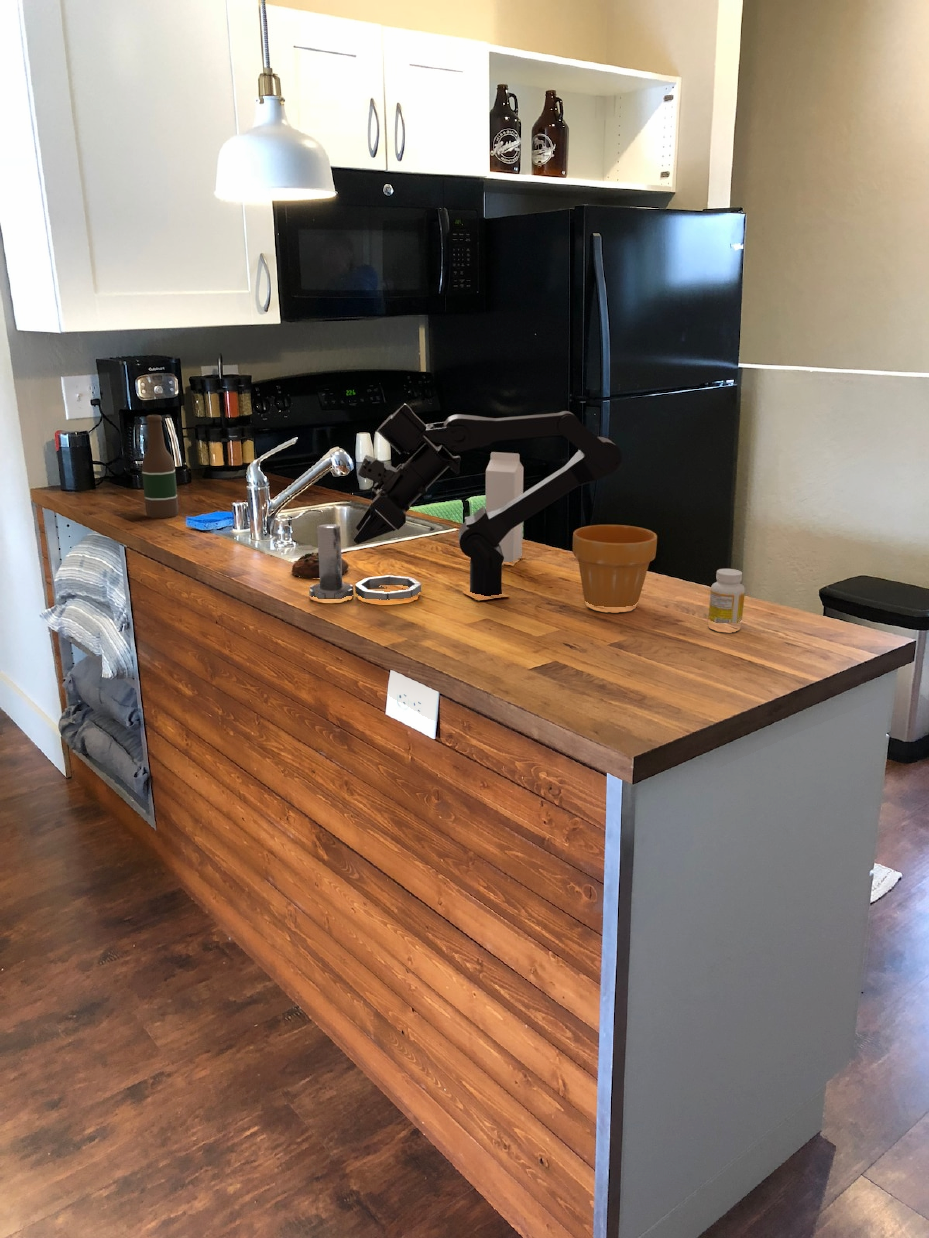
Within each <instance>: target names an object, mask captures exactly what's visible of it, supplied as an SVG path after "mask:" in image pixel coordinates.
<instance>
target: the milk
mask: <svg viewBox="0 0 929 1238" xmlns="http://www.w3.org/2000/svg"><path fill="white" fill-rule="evenodd" d="M520 457H521V456H520V454H519V453H518V452H517V453H514V452H497V451H491V453H490V460H489V462H488V465H487V467H486V469H485V509H486V512H491V511H494V510H497V509H500V508H501V507H503V506H504V505H506V504H507V503H509V502H510V501H512V500H513V499H515V498H517V497H518V496H520V495H521V494H523V493H524V466H523V464H522V463H521V461H520ZM499 545H500V546H501V549H502V553H503V556H504V560H503V562H514V561H516V560H517V559H518V558H520V557H521V556H523V555H522V554H523V551H522V550H523V549H522V548H523V522H522V523H520V524H519V525H517V526H516V527H514V528H513V529H511V530H510V531H509V532H508V533H507V535H506V536H505V537H504V538H503V539H502V541H501V542H500V543H499Z"/></svg>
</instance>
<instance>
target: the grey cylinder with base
mask: <svg viewBox="0 0 929 1238" xmlns="http://www.w3.org/2000/svg"><path fill="white" fill-rule="evenodd" d="M316 528H317V529H316V530H317V531H316V532H317V550H318V551H317V553H318V555H319V577H320V579H319V583H316V584H312V585H310V587H309V588H310V589H308V592H309V593H308V594H309V595H308V597H309V596H311V597H313V596H314V597H317V598H318V599H342V598H344V597H346V596H352V595H354V585H353V584H349V583H346V582H344V581H343V575H342V558H343V557H342V537H341V536H342V535H341V533H342V532H341V525H339V524H333V523H332V524H331V523H329V524H320V525H317V527H316Z"/></svg>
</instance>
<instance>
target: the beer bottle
mask: <svg viewBox="0 0 929 1238" xmlns="http://www.w3.org/2000/svg"><path fill="white" fill-rule="evenodd" d="M162 421H163V417H162V415H159V414H149V415H147V416H146V419H145V422H146V423H147V450H146V452H145V455H144V456H143V458H142V462H141V475H142V485H143V497H144V504H145V505H144V506H145V514H146V516H147V517H148V518H152V519H170V518H173V517H177V516H178V514H179V499H178V488H177V478H176V467H175V461H174V459H173V457H172V455H171V453H170V452H169V450H167V447H166V445H165V437H164V432H163V426H162V425H163V424H162Z"/></svg>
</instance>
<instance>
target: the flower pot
mask: <svg viewBox="0 0 929 1238" xmlns="http://www.w3.org/2000/svg"><path fill="white" fill-rule="evenodd" d="M572 534H573V535H572V554H573V557H575V558H576V559H577V562H578V568H579V575H580V582H581V588H582V594H583V598H584V602H585V601H586V602H588V603H589V604H592V605H594V606H604V607H626V606H633V605H635V604H636V603H637V602H638V603H639V600H640V596H641V593H642V590H643V587H644V583H645V579H646V576H647V572H648V569H649V565H650V562H652V561H654V560H655V559H656V553H657V544H658V535H657V533H655V532H654V531H653V530H650V529H647V528H644V527H638V526H633V525H632V526H631V525H625V524H623V525H622V524H594V525H587V526H583V527H579V528H577V529H575V530H574V531H573V533H572Z"/></svg>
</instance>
